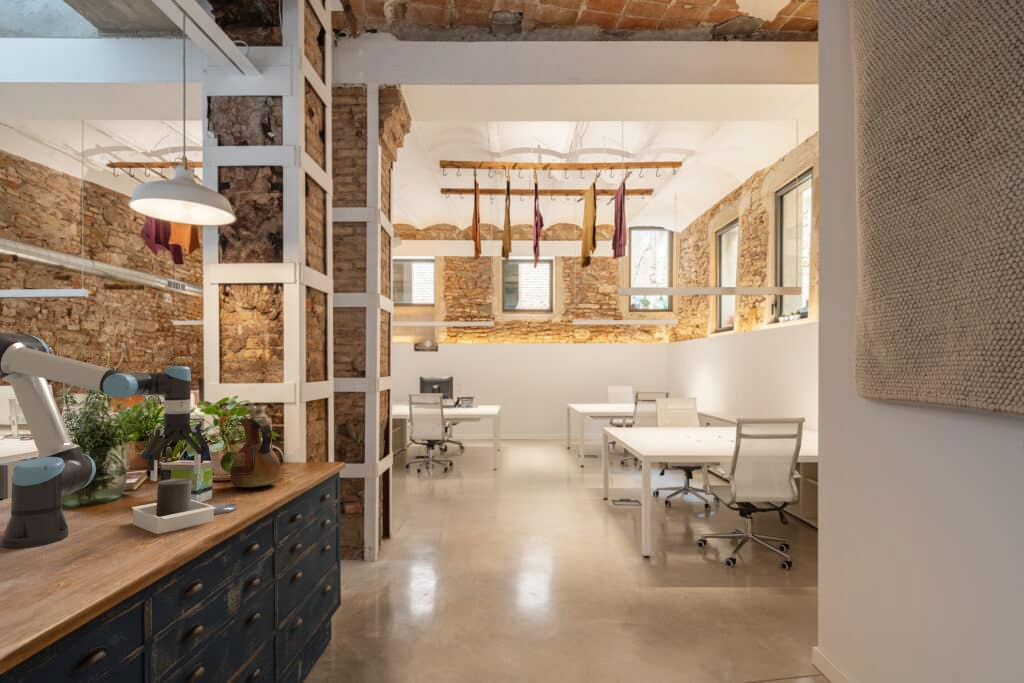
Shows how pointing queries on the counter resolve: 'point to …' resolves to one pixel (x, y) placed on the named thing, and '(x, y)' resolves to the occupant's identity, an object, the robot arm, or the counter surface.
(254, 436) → the ceramic pitcher
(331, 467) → the counter surface
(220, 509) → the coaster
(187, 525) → the white rectangular tray
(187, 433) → the robot arm
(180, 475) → the tea box
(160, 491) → the pillar candle
